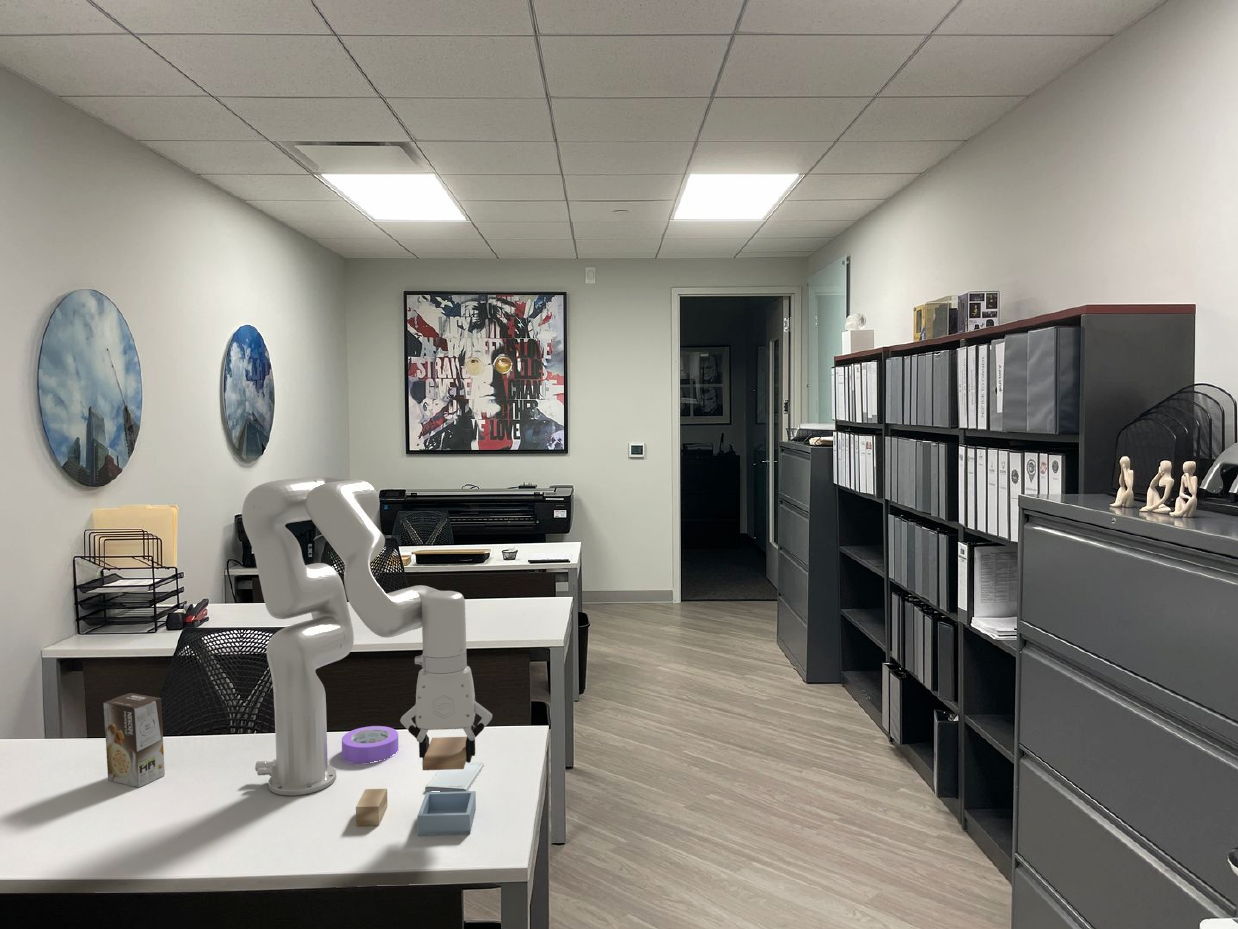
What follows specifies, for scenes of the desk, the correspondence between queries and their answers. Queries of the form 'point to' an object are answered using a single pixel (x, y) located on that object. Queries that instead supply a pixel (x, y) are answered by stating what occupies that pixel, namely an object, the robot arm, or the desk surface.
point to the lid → (445, 754)
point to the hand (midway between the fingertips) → (447, 759)
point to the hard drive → (455, 778)
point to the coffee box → (134, 739)
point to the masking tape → (369, 744)
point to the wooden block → (371, 807)
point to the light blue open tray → (447, 813)
